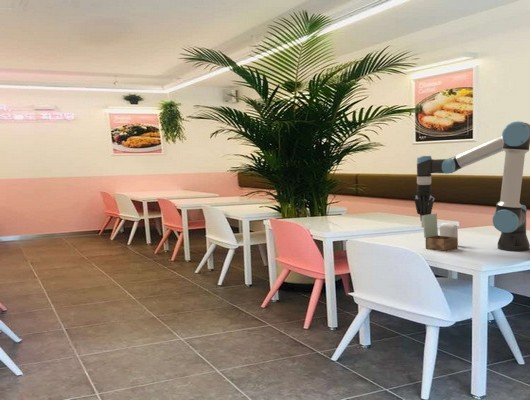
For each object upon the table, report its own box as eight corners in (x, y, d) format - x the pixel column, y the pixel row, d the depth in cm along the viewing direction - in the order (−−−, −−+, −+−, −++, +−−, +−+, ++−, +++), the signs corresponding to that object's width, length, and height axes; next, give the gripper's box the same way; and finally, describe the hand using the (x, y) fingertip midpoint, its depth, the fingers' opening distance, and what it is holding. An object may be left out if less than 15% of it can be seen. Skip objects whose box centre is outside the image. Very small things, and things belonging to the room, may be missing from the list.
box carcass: (457, 248, 268) (457, 237, 267) (445, 251, 261) (445, 240, 261) (438, 246, 277) (437, 235, 277) (425, 248, 271) (425, 237, 270)
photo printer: (438, 244, 283) (438, 222, 282) (444, 243, 285) (443, 221, 284) (453, 246, 274) (453, 224, 273) (459, 245, 276) (458, 223, 275)
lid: (436, 213, 277) (435, 213, 277) (424, 215, 270) (422, 215, 271) (437, 235, 277) (436, 235, 278) (425, 237, 270) (424, 237, 271)
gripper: (438, 184, 272) (438, 227, 274) (418, 183, 283) (418, 225, 285) (429, 185, 268) (429, 229, 270) (410, 184, 278) (410, 226, 280)
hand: (424, 227), depth 277 cm, fingers closed
